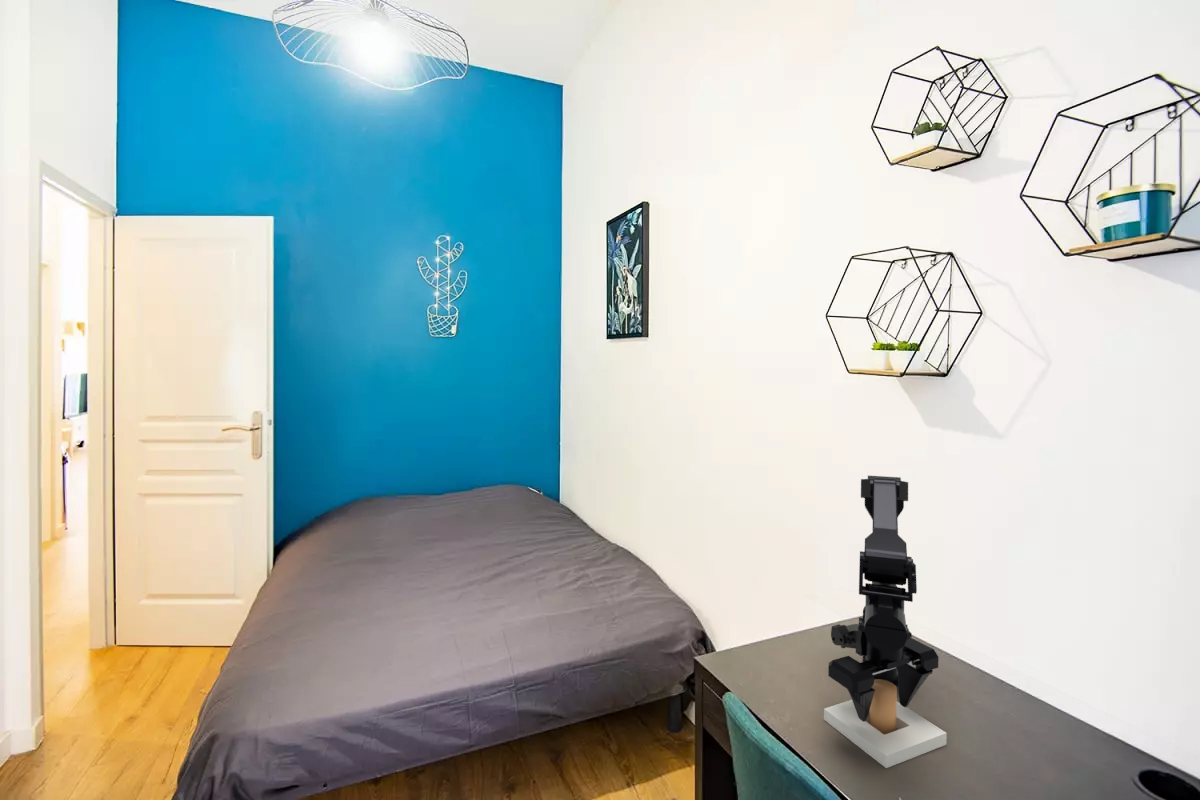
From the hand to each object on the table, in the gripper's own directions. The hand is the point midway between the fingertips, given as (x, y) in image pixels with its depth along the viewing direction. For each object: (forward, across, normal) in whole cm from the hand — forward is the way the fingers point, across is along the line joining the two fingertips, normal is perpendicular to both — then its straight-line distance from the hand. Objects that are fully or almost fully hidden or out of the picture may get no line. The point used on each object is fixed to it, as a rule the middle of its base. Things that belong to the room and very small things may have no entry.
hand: (883, 712), depth 97 cm
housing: (+3, 0, 0) cm, 3 cm away
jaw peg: (+3, 0, 0) cm, 3 cm away
